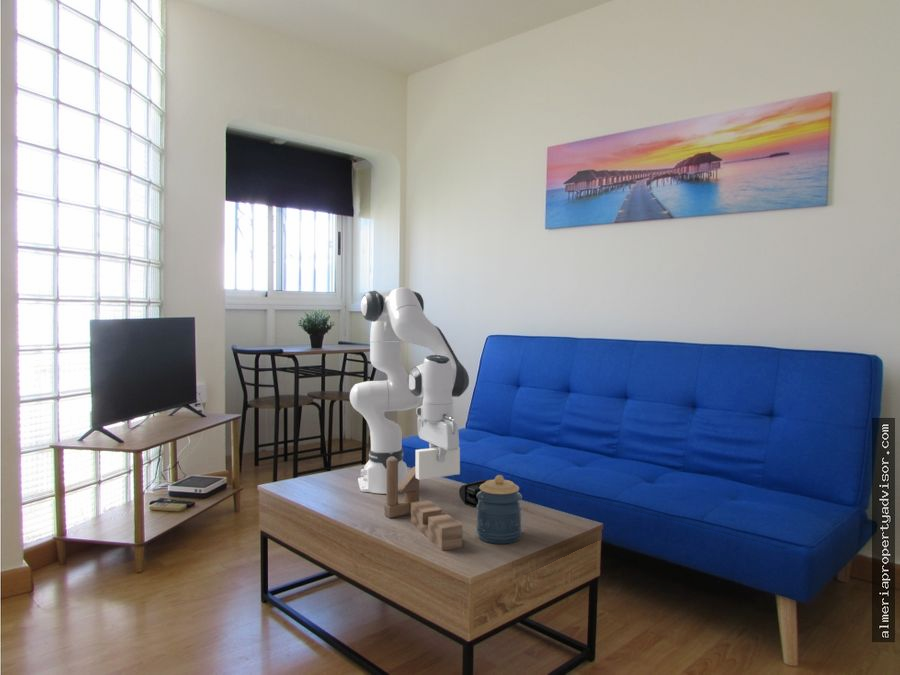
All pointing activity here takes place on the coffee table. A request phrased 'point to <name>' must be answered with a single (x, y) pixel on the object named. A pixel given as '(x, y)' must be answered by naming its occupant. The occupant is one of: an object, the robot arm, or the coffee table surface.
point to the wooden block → (400, 490)
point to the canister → (499, 511)
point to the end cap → (470, 493)
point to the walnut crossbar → (436, 525)
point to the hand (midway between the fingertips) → (437, 459)
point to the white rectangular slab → (436, 463)
